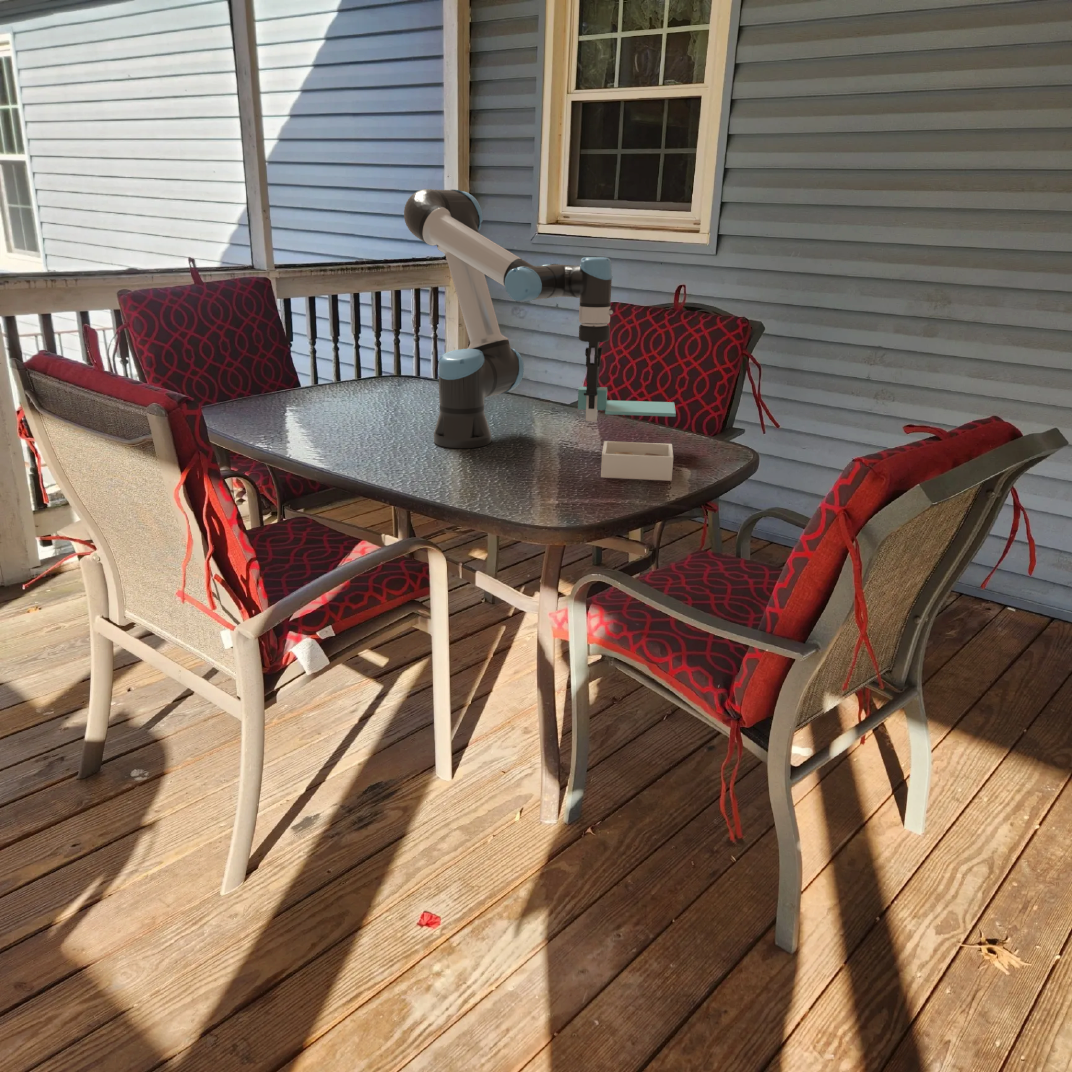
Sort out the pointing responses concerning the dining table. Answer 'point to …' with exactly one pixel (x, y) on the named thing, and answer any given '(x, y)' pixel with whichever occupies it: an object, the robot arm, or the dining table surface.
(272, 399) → the dining table surface
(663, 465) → the tub
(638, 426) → the dining table surface
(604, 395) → the lid
